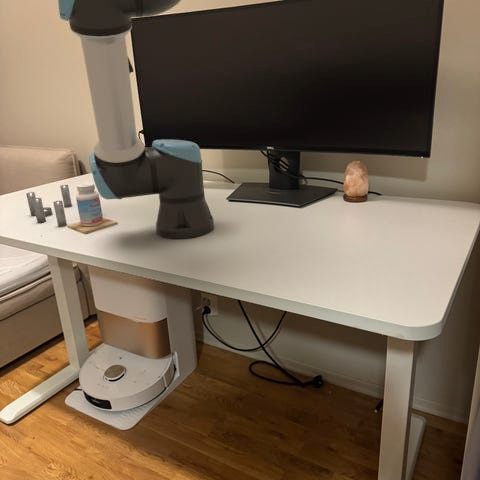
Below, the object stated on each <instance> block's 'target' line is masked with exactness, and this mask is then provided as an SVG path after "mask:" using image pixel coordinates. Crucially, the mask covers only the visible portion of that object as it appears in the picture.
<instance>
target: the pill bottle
mask: <svg viewBox="0 0 480 480" xmlns="http://www.w3.org/2000/svg"><path fill="white" fill-rule="evenodd" d="M95 187H96V185H95V182H94V183H93V182H84V183H80V184H77V185H76V190H77V191H78V193H77V194H76V196H75V200H76V205H77V211H78V215H79V219H80V220H79V222H81V225H82V226H96V225H99V224H101V223H102V222H103V218H104V216H103V211H102V206H101V204H102V203H101V199H100V194H99V192H98V191H96V190H95V189H96V188H95Z"/></svg>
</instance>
